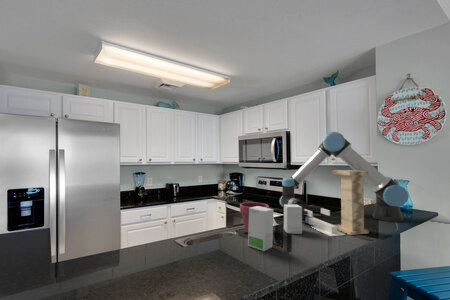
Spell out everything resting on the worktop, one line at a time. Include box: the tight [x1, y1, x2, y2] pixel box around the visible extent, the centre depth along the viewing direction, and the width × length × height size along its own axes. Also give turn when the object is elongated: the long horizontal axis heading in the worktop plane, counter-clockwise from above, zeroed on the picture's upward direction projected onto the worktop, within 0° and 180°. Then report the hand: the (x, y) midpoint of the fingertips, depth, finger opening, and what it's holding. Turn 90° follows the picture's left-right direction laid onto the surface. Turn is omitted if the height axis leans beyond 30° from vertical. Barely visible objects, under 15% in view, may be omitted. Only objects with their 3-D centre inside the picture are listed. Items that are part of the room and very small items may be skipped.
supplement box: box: [283, 205, 303, 235], centre depth 119 cm, size 7×7×13 cm
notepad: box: [311, 225, 346, 237], centre depth 119 cm, size 8×15×1 cm, turn 16°
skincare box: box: [247, 206, 275, 252], centre depth 98 cm, size 8×7×16 cm
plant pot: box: [239, 201, 270, 233], centre depth 120 cm, size 14×14×13 cm
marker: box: [305, 216, 338, 234], centre depth 125 cm, size 3×21×3 cm, turn 16°
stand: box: [331, 169, 370, 236], centre depth 121 cm, size 11×12×30 cm
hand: (320, 213), depth 124 cm, fingers open, 10 cm apart
